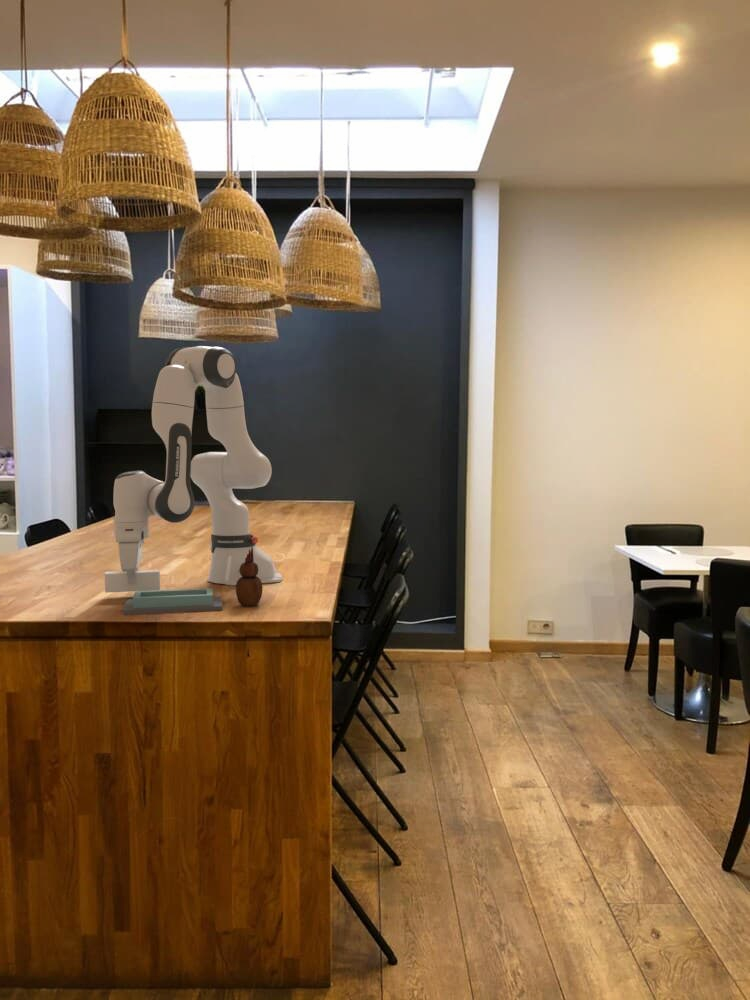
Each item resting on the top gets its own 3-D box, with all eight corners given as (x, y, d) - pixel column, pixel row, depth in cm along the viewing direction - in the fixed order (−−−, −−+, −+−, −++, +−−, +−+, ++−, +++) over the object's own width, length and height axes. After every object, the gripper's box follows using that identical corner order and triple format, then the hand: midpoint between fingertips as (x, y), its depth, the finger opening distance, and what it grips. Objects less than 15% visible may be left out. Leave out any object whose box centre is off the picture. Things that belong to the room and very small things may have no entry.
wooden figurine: (251, 601, 202) (251, 545, 201) (266, 604, 199) (266, 547, 197) (231, 605, 197) (231, 548, 196) (246, 608, 193) (246, 550, 192)
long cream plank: (160, 587, 209) (159, 569, 209) (159, 590, 206) (159, 571, 206) (106, 589, 206) (105, 571, 206) (105, 592, 203) (104, 574, 202)
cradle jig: (220, 599, 204) (220, 586, 204) (222, 610, 192) (222, 596, 192) (127, 603, 199) (127, 589, 199) (122, 614, 186) (122, 600, 186)
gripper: (123, 526, 214) (124, 575, 215) (114, 536, 194) (116, 590, 195) (146, 526, 215) (148, 574, 217) (140, 536, 195) (141, 589, 197)
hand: (132, 582), depth 206 cm, fingers closed on long cream plank, 4 cm apart
